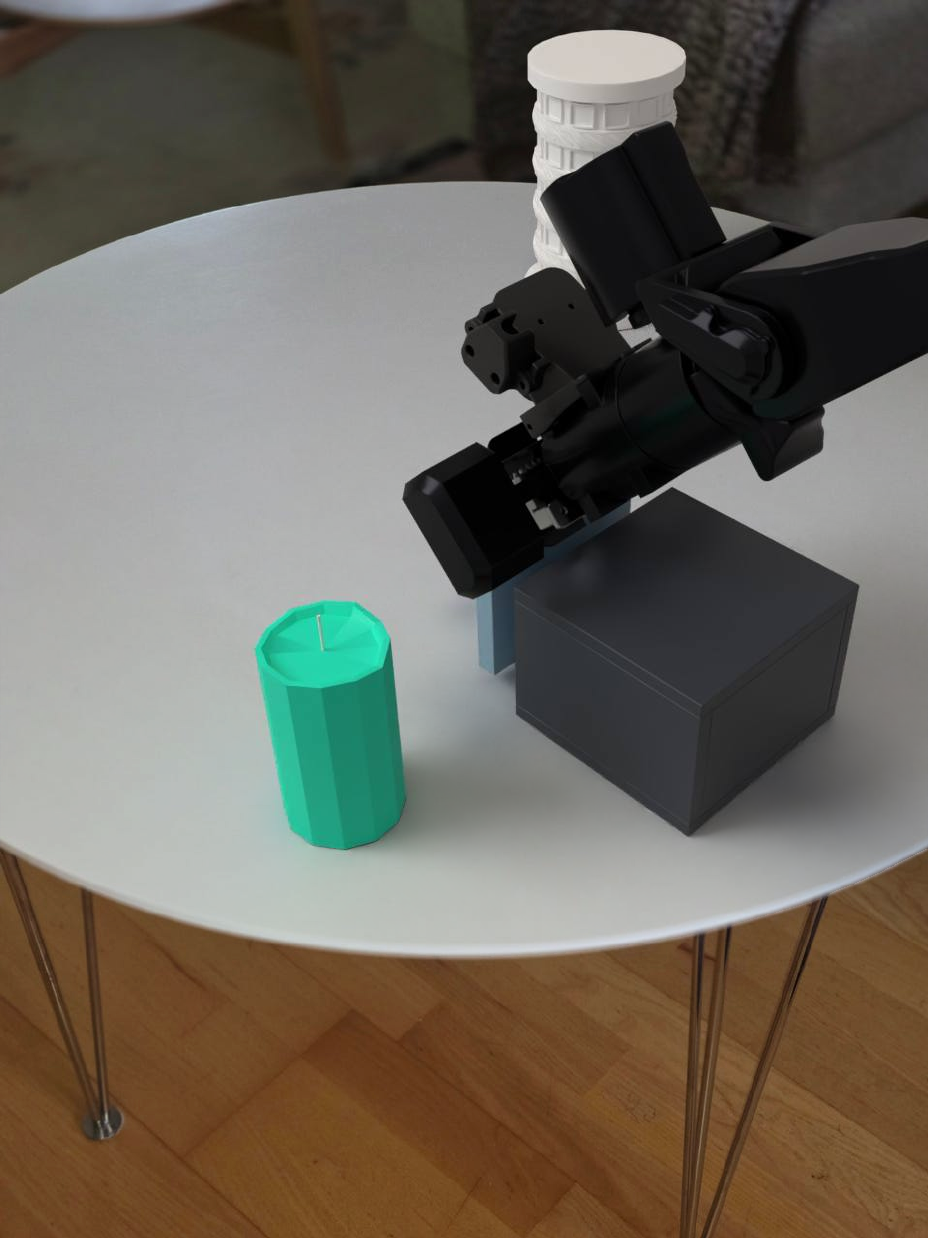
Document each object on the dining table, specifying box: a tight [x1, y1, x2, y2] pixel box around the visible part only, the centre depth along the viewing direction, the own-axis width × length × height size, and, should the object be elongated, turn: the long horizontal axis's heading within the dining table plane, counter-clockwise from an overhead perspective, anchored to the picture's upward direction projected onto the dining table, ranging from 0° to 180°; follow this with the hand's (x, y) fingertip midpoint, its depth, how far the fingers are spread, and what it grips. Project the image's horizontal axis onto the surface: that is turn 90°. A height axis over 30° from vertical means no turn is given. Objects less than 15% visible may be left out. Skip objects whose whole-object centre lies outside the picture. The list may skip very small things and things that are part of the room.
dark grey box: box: [514, 486, 860, 837], centre depth 68 cm, size 12×12×9 cm
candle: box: [253, 599, 407, 850], centre depth 63 cm, size 6×6×12 cm
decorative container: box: [524, 29, 687, 331], centre depth 100 cm, size 12×12×18 cm
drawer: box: [475, 499, 632, 676], centre depth 72 cm, size 16×10×7 cm, turn 43°
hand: (499, 505), depth 73 cm, fingers closed, pressing on drawer
